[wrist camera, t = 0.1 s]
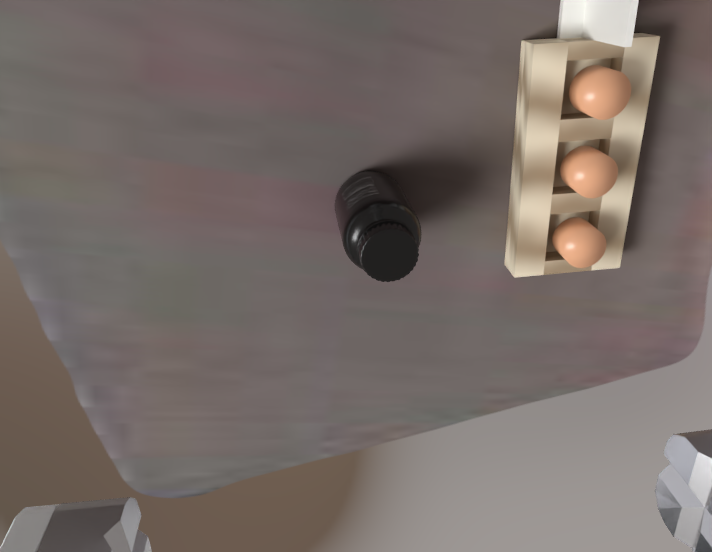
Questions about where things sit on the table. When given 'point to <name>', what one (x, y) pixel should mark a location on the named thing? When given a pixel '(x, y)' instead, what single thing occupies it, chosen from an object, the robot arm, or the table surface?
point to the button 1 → (579, 242)
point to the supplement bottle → (378, 226)
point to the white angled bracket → (598, 20)
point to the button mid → (589, 171)
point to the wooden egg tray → (561, 135)
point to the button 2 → (600, 92)
